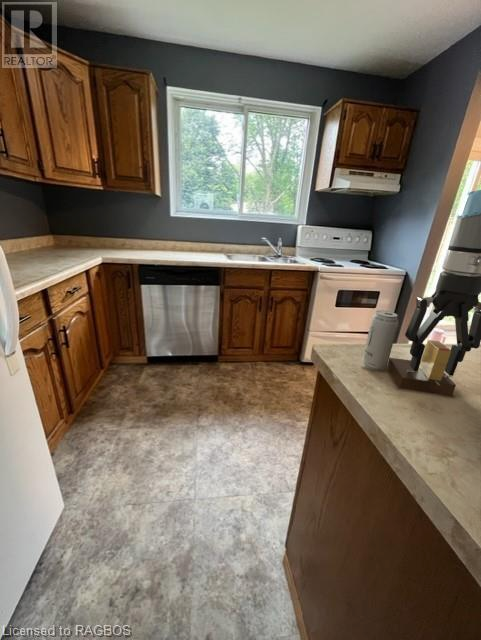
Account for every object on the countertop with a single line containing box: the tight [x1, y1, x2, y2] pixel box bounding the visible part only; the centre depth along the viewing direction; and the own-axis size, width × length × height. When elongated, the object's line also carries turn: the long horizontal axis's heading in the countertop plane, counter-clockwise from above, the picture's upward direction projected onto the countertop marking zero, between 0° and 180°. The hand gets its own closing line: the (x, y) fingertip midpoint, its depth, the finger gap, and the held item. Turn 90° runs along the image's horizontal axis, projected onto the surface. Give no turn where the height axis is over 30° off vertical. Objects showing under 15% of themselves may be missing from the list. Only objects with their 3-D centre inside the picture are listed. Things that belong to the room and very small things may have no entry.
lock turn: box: [419, 339, 451, 381], centre depth 63 cm, size 6×2×8 cm, turn 168°
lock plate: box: [386, 357, 457, 397], centre depth 65 cm, size 12×11×3 cm
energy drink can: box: [361, 310, 399, 372], centre depth 70 cm, size 6×6×15 cm
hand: (430, 370), depth 64 cm, fingers open, 7 cm apart
